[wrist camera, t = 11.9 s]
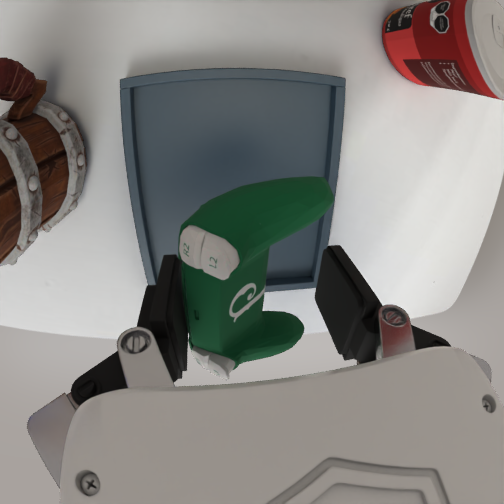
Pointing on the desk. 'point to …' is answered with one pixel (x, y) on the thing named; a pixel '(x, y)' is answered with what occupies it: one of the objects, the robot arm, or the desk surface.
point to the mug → (34, 162)
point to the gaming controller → (242, 269)
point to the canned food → (449, 45)
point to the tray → (229, 153)
